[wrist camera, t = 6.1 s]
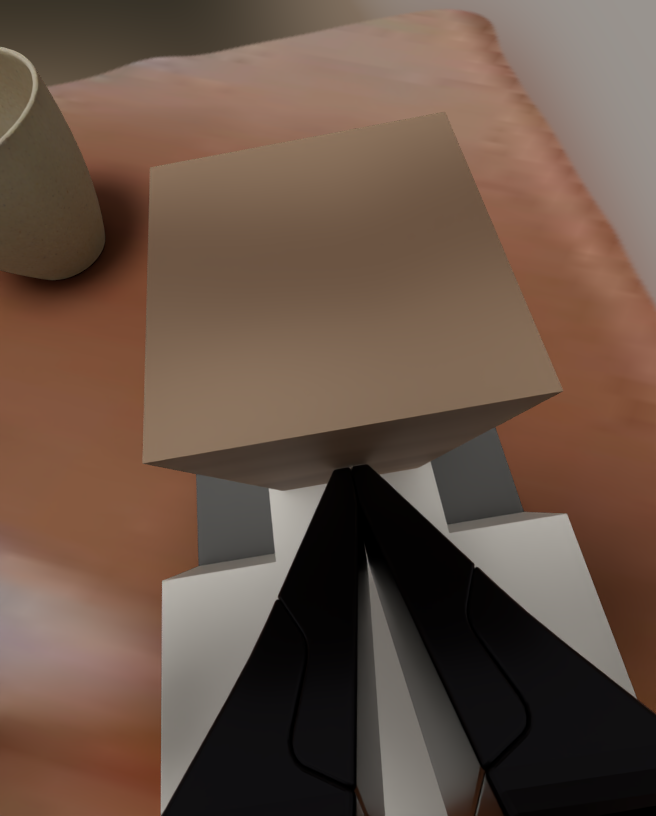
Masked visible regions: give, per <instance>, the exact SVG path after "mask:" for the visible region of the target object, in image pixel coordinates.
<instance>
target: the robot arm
mask: <svg viewBox="0 0 656 816" xmlns="http://www.w3.org/2000/svg"><path fill="white" fill-rule="evenodd" d="M365 549H366V550H365ZM366 554H367V557H366ZM367 559H368V563H369V566H370V570H371V573H372V577H373V580H374V583H375V586H376V589H377V593H378V596H379V599H380V602H381V605H382V608H383V612H384V615H385V618H386V621H387V624H388V627H389V631H390V634H391V637H392V640H393V643H394V646H395V650H396V653H397V656H398V659H399V662H400V666H401V669H402V672H403V675H404V678H405V681H406V685H407V688H408V691H409V694H410V697H411V700H412V704H413V707H414V710H415V713H416V716H417V719H418V723H419V726H420V729H421V732H422V735H423V739H424V742H425V745H426V748H427V751H428V754H429V758H430V761H431V764H432V767H433V770H434V773H435V777H436V780H437V783H438V786H439V789H440V792H441V796H442V799H443V802H444V805H445V808H446V812H447V815H448V816H656V714H655V713H654V712H653V711H651V710H650V709H649V708H648V707H646V706H645V705H644V704H643V703H641V702H640V701H639V700H638V699H636V698H635V697H634V696H632V695H631V694H630V693H629V692H627V691H626V690H625V689H624V688H622V687H621V686H620V685H618V684H617V683H616V682H615V681H613V680H612V679H611V678H610V677H608V676H607V675H606V674H605V673H603V672H602V671H601V670H599V669H598V668H597V667H596V666H594V665H593V664H592V663H591V662H589V661H588V660H587V659H585V658H584V657H583V656H582V655H580V654H579V653H578V652H577V651H575V650H574V649H573V648H572V647H570V646H569V645H568V644H566V643H565V642H564V641H563V640H562V639H560V638H559V637H558V636H557V635H555V634H554V633H553V632H552V631H550V630H549V629H548V628H547V627H546V626H544V625H543V624H542V623H541V622H539V621H538V620H537V619H536V618H535V617H533V616H532V615H531V614H530V613H528V612H527V611H526V610H525V609H524V608H523V607H522V606H520V605H519V604H518V603H517V602H516V601H515V600H514V599H513V598H511V597H510V596H509V595H508V594H507V593H506V592H505V591H504V590H502V589H501V588H500V587H499V586H498V585H497V584H496V583H495V582H494V581H493V580H492V579H491V578H489V577H488V576H487V575H486V574H485V573H484V572H483V571H482V570H481V569H480V568H479V567H475V564H474V563H473V562H472V561H471V560H470V559H469V558H468V557H467V556H466V555H465V554H464V553H463V552H461V551H460V550H459V549H458V548H457V547H456V546H455V545H454V544H453V543H452V542H451V541H450V540H449V539H448V538H447V537H445V536H444V535H443V534H442V533H441V532H440V531H439V530H438V529H437V528H436V527H435V526H434V525H433V524H432V523H430V522H429V521H428V520H427V519H426V518H425V517H424V516H423V515H422V514H421V513H420V512H419V511H418V510H417V509H416V508H414V507H413V506H412V505H411V504H410V503H409V502H408V501H407V500H406V499H405V498H404V497H403V496H402V495H401V494H399V493H398V492H397V491H396V490H395V489H394V488H393V487H392V486H391V485H390V484H389V483H388V482H387V481H386V480H385V479H383V478H382V477H381V476H380V475H379V474H378V473H377V472H376V471H375V470H374V469H373V468H372V467H371V466H370V465H368V464H363V465H357V466H353V467H352V468H351V469H350V468H349V467H346V468H340V469H335V470H334V471H333V472H332V474H331V477H330V479H329V481H328V483H327V486H326V488H325V490H324V492H323V495H322V497H321V499H320V501H319V504H318V506H317V508H316V510H315V513H314V515H313V517H312V519H311V522H310V524H309V526H308V528H307V531H306V533H305V535H304V537H303V540H302V542H301V544H300V547H299V549H298V551H297V553H296V556H295V558H294V560H293V562H292V565H291V567H290V569H289V571H288V574H287V576H286V578H285V580H284V583H283V585H282V587H281V589H280V592H279V594H278V599H279V600H276V601H275V603H274V605H273V607H272V609H271V612H270V614H269V616H268V618H267V621H266V623H265V625H264V627H263V629H262V631H261V633H260V635H259V638H258V640H257V642H256V644H255V646H254V648H253V650H252V652H251V654H250V656H249V658H248V660H247V662H246V664H245V666H244V668H243V669H242V671H241V673H240V675H239V677H238V679H237V681H236V683H235V684H234V686H233V688H232V690H231V692H230V694H229V696H228V697H227V699H226V701H225V703H224V705H223V706H222V708H221V710H220V712H219V713H218V715H217V717H216V719H215V721H214V722H213V724H212V726H211V728H210V730H209V731H208V733H207V735H206V737H205V738H204V740H203V742H202V744H201V746H200V747H199V749H198V751H197V753H196V754H195V756H194V758H193V760H192V762H191V763H190V765H189V767H188V769H187V771H186V772H185V774H184V776H183V778H182V779H181V781H180V783H179V785H178V787H177V788H176V790H175V792H174V794H173V795H172V797H171V799H170V801H169V803H168V804H167V806H166V808H165V810H164V811H163V813H162V815H161V816H385V807H384V792H383V778H382V763H381V749H380V734H379V720H378V705H377V690H376V676H375V661H374V647H373V632H372V618H371V603H370V588H369V574H368V563H367Z"/></svg>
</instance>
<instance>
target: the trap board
mask: <svg viewBox="0 0 656 816" xmlns="http://www.w3.org/2000/svg"><path fill="white" fill-rule="evenodd" d="M380 476H381V477H382V478H383V479H385V480H386V481H387V482H388V483H389V484H390V485H391V486H392V487H393V488H394V489H395V490H396V491H397V492H398V493H399V494H401V495H402V496H403V497H404V498H405V499H406V500H407V501H408V502H409V503H410V504H411V505H412V506H413V507H414V508H416V509H417V510H418V511H419V512H420V513H421V514H422V515H423V516H424V517H425V518H426V519H427V520H428V521H429V522H430V523H432V524H433V525H434V526H435V527H436V528H437V529H438V530H439V531H440V532H441V533H442V534H443V535H444V536H445V537H447V538H448V539H449V540H450V541H451V542H452V543H453V544H454V545H455V546H456V547H457V548H458V549H459V550H460V551H461V552H463V553H464V554H465V555H466V556H467V557H468V558H469V559H470V560H471V561H472V562H473V563H474V564H475V567H479V568H480V569H481V570H482V571H483V572H484V573H485V574H486V575H487V576H488V577H489V578H491V579H492V580H493V581H494V582H495V583H496V584H497V585H498V586H499V587H500V588H501V589H502V590H504V591H505V592H506V593H507V594H508V595H509V596H510V597H511V598H513V599H514V600H515V601H516V602H517V603H518V604H519V605H520V606H522V607H523V608H524V609H525V610H526V611H527V612H528V613H530V614H531V615H532V616H533V617H535V618H536V619H537V620H538V621H539V622H541V623H542V624H543V625H544V626H546V627H547V628H548V629H549V630H550V631H552V632H553V633H554V634H555V635H557V636H558V637H559V638H560V639H562V640H563V641H564V642H565V643H566V644H568V645H569V646H570V647H572V648H573V649H574V650H575V651H577V652H578V653H579V654H580V655H582V656H583V657H584V658H585V659H587V660H588V661H589V662H591V663H592V664H593V665H594V666H596V667H597V668H598V669H599V670H601V671H602V672H603V673H605V674H606V675H607V676H608V677H610V678H611V679H612V680H613V681H615V682H616V683H617V684H618V685H620V686H621V687H622V688H624V689H625V690H626V691H627V692H629V693H630V694H631V695H632V696H634V697H635V698H636V699H637V697H636V695H635V692H634V689H633V687H632V684H631V682H630V679H629V676H628V674H627V671H626V668H625V666H624V663H623V660H622V658H621V655H620V653H619V650H618V647H617V645H616V642H615V639H614V637H613V634H612V631H611V629H610V626H609V624H608V621H607V618H606V616H605V613H604V610H603V608H602V605H601V602H600V600H599V597H598V595H597V592H596V589H595V587H594V584H593V581H592V579H591V576H590V573H589V571H588V568H587V566H586V563H585V560H584V558H583V555H582V552H581V550H580V547H579V544H578V542H577V539H576V537H575V534H574V531H573V529H572V526H571V523H570V521H569V518H568V515H567V514H563V513H539V512H524V511H523V508H522V505H521V502H520V499H519V496H518V493H517V490H516V487H515V484H514V481H513V478H512V475H511V472H510V469H509V467H508V464H507V461H506V458H505V455H504V452H503V449H502V446H501V443H500V440H499V437H498V434H497V431H496V428H495V427H494V428H493V429H491V430H489V431H487V432H485V433H483V434H481V435H479V436H477V437H476V438H474V439H472V440H470V441H468V442H466V443H464V444H462V445H461V446H459V447H457V448H455V449H453V450H451V451H449V452H447V453H445V454H444V455H442V456H440V457H438V458H436V459H434V460H432V461H430V462H428V463H427V464H425V465H423V466H421V467H419V468H415V469H409V470H403V471H398V472H392V473H386V474H380ZM196 483H197V520H198V557H199V566H198V567H195V568H193V569H190V570H188V571H185V572H183V573H181V574H178V575H176V576H173V577H171V578H168V579H166V580H163V581H162V699H161V815H162V813H163V811H164V810H165V808H166V806H167V804H168V803H169V801H170V799H171V797H172V795H173V794H174V792H175V790H176V788H177V787H178V785H179V783H180V781H181V779H182V778H183V776H184V774H185V772H186V771H187V769H188V767H189V765H190V763H191V762H192V760H193V758H194V756H195V754H196V753H197V751H198V749H199V747H200V746H201V744H202V742H203V740H204V738H205V737H206V735H207V733H208V731H209V730H210V728H211V726H212V724H213V722H214V721H215V719H216V717H217V715H218V713H219V712H220V710H221V708H222V706H223V705H224V703H225V701H226V699H227V697H228V696H229V694H230V692H231V690H232V688H233V686H234V684H235V683H236V681H237V679H238V677H239V675H240V673H241V671H242V669H243V668H244V666H245V664H246V662H247V660H248V658H249V656H250V654H251V652H252V650H253V648H254V646H255V644H256V642H257V640H258V638H259V635H260V633H261V631H262V629H263V627H264V625H265V623H266V621H267V618H268V616H269V614H270V612H271V609H272V607H273V605H274V603H275V601H276V600H279V599H278V594H279V592H280V589H281V587H282V585H283V583H284V580H285V578H286V576H287V574H288V571H289V569H290V567H291V565H292V562H293V560H294V558H295V556H296V553H297V551H298V549H299V547H300V544H301V542H302V540H303V537H304V535H305V533H306V531H307V528H308V526H309V524H310V522H311V519H312V517H313V515H314V513H315V510H316V508H317V506H318V504H319V501H320V499H321V497H322V495H323V492H324V490H325V488H326V486H327V484H321V485H315V486H309V487H303V488H297V489H291V490H286V491H280V490H275V489H270V488H265V487H260V486H255V485H250V484H245V483H240V482H234V481H229V480H224V479H219V478H214V477H209V476H204V475H199V474H196ZM365 550H366V549H365ZM366 557H367V554H366ZM367 563H368V559H367ZM368 574H369V588H370V603H371V618H372V632H373V647H374V661H375V676H376V690H377V705H378V720H379V734H380V749H381V763H382V778H383V792H384V807H385V816H448V815H447V812H446V808H445V805H444V802H443V799H442V796H441V792H440V789H439V786H438V783H437V780H436V777H435V773H434V770H433V767H432V764H431V761H430V758H429V754H428V751H427V748H426V745H425V742H424V739H423V735H422V732H421V729H420V726H419V723H418V719H417V716H416V713H415V710H414V707H413V704H412V700H411V697H410V694H409V691H408V688H407V685H406V681H405V678H404V675H403V672H402V669H401V666H400V662H399V659H398V656H397V653H396V650H395V646H394V643H393V640H392V637H391V634H390V631H389V627H388V624H387V621H386V618H385V615H384V612H383V608H382V605H381V602H380V599H379V596H378V593H377V589H376V586H375V583H374V580H373V577H372V573H371V570H370V566H369V563H368Z"/></svg>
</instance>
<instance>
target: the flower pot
mask: <svg viewBox="0 0 656 816" xmlns="http://www.w3.org/2000/svg"><path fill="white" fill-rule="evenodd" d="M104 244H105V230H104V225H103V219H102V214H101V210H100V206H99V202H98V198H97V195H96V192H95V189H94V186H93V183H92V180H91V177H90V174H89V171H88V169H87V166H86V164H85V161H84V159H83V156H82V154H81V152H80V149H79V147H78V145H77V143H76V141H75V139H74V137H73V134H72V132H71V130H70V128H69V126H68V124H67V123H66V121H65V119H64V117H63V115H62V113H61V111H60V109H59V107H58V106H57V104H56V102H55V100H54V99H53V97H52V95H51V93H50V92H49V90H48V88H47V87H46V85H45V83H44V82H43V80H42V78H41V77H40V75H39V74H38V72H37V70H36V69H35V67H34V66H33V64H32V63H31V62H30V61H29V60H28V59H27V58H26V57H24V56H23V55H21V54H20V53H18V52H16V51H13V50H10V49H7V48H3V47H0V270H1V271H5V272H9V273H13V274H18V275H23V276H28V277H33V278H39V279H46V280H60V279H65V278H69V277H72V276H74V275H76V274H78V273H80V272H82V271H84V270H85V269H87V268H88V267H89V266H90V265H91V264H93V263H94V261H95V260H96V259H97V258H98V257H99V255H100V254H101V252H102V250H103V247H104Z"/></svg>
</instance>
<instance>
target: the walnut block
mask: <svg viewBox="0 0 656 816" xmlns="http://www.w3.org/2000/svg"><path fill="white" fill-rule="evenodd" d="M562 391H563V389H562V387H561V384H560V382H559V379H558V377H557V375H556V372H555V370H554V368H553V365H552V363H551V361H550V358H549V356H548V353H547V351H546V349H545V346H544V344H543V342H542V339H541V337H540V335H539V332H538V330H537V328H536V325H535V323H534V320H533V318H532V316H531V313H530V311H529V309H528V306H527V304H526V302H525V299H524V297H523V294H522V292H521V290H520V287H519V285H518V283H517V280H516V278H515V276H514V273H513V271H512V268H511V266H510V264H509V261H508V259H507V257H506V254H505V252H504V250H503V247H502V245H501V243H500V240H499V238H498V235H497V233H496V231H495V228H494V226H493V224H492V221H491V219H490V217H489V214H488V212H487V209H486V207H485V205H484V202H483V200H482V198H481V195H480V193H479V191H478V188H477V186H476V183H475V181H474V179H473V176H472V174H471V172H470V169H469V167H468V165H467V162H466V160H465V157H464V155H463V153H462V150H461V148H460V146H459V143H458V141H457V139H456V136H455V134H454V132H453V129H452V127H451V124H450V122H449V120H448V117H447V115H446V113H445V112H441V113H436V114H431V115H426V116H420V117H415V118H410V119H404V120H399V121H394V122H389V123H383V124H378V125H373V126H367V127H362V128H357V129H352V130H346V131H341V132H336V133H330V134H325V135H320V136H315V137H309V138H304V139H299V140H293V141H288V142H283V143H278V144H272V145H267V146H262V147H256V148H251V149H246V150H241V151H235V152H230V153H225V154H219V155H214V156H209V157H204V158H198V159H193V160H188V161H182V162H177V163H172V164H167V165H161V166H156V167H151V168H150V190H149V229H148V268H147V308H146V347H145V386H144V425H143V464H148V465H153V466H158V467H163V468H168V469H173V470H178V471H183V472H189V473H194V474H199V475H204V476H209V477H214V478H219V479H224V480H229V481H234V482H240V483H245V484H250V485H255V486H260V487H265V488H270V489H275V490H280V491H286V490H291V489H297V488H303V487H309V486H315V485H321V484H327V483H328V481H329V479H330V477H331V474H332V472H333V471H334V470H335V469H340V468H346V467H349V468H350V469H351V468H352V467H353V466H357V465H363V464H368V465H370V466H371V467H372V468H373V469H374V470H375V471H376V472H377V473H378V474H379V475H380V474H386V473H392V472H398V471H403V470H409V469H415V468H419V467H421V466H423V465H425V464H427V463H428V462H430V461H432V460H434V459H436V458H438V457H440V456H442V455H444V454H445V453H447V452H449V451H451V450H453V449H455V448H457V447H459V446H461V445H462V444H464V443H466V442H468V441H470V440H472V439H474V438H476V437H477V436H479V435H481V434H483V433H485V432H487V431H489V430H491V429H493V428H494V427H496V426H498V425H500V424H502V423H504V422H506V421H508V420H509V419H511V418H513V417H515V416H517V415H519V414H521V413H523V412H525V411H526V410H528V409H530V408H532V407H534V406H536V405H538V404H540V403H541V402H543V401H545V400H547V399H549V398H551V397H553V396H555V395H557V394H558V393H560V392H562Z"/></svg>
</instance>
